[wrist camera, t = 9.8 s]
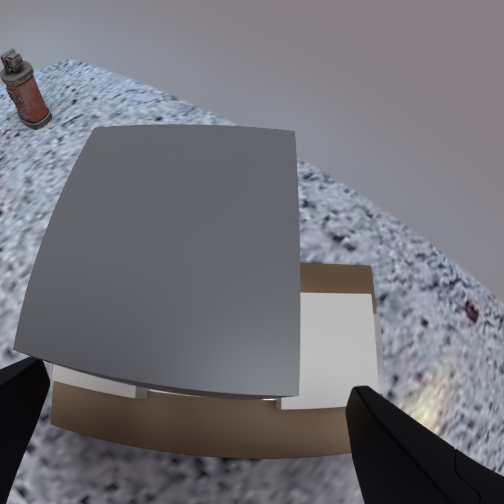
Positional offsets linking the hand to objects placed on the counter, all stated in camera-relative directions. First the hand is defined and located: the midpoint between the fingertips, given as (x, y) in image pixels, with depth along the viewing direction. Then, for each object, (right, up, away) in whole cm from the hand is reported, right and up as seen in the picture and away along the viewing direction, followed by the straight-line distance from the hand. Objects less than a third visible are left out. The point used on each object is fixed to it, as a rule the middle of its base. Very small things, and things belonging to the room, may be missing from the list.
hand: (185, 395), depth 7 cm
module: (0, -2, +9) cm, 9 cm away
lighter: (-25, +20, +21) cm, 38 cm away
